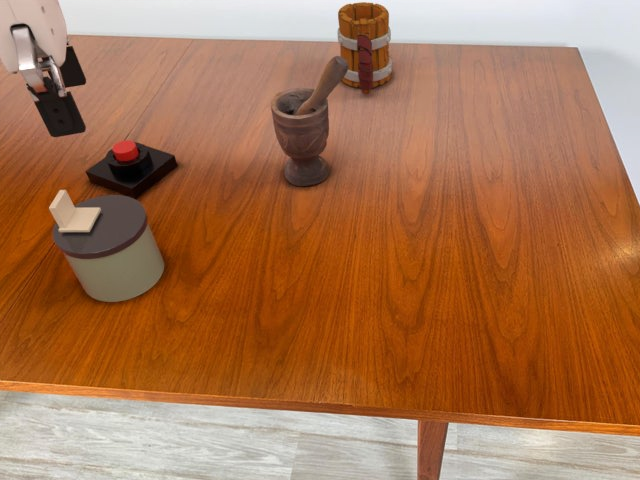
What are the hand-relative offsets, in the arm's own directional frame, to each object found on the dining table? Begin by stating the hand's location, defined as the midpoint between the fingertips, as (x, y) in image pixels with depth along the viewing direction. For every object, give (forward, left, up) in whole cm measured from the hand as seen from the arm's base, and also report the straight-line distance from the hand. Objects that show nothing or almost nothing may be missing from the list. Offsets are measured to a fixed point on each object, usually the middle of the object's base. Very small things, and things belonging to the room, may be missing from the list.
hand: (70, 108), depth 59 cm
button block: (-20, +19, -27) cm, 39 cm away
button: (-20, +19, -24) cm, 36 cm away
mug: (0, +63, -27) cm, 68 cm away
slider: (-7, -1, -18) cm, 19 cm away
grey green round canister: (-5, +1, -27) cm, 28 cm away
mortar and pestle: (+7, +33, -27) cm, 43 cm away
